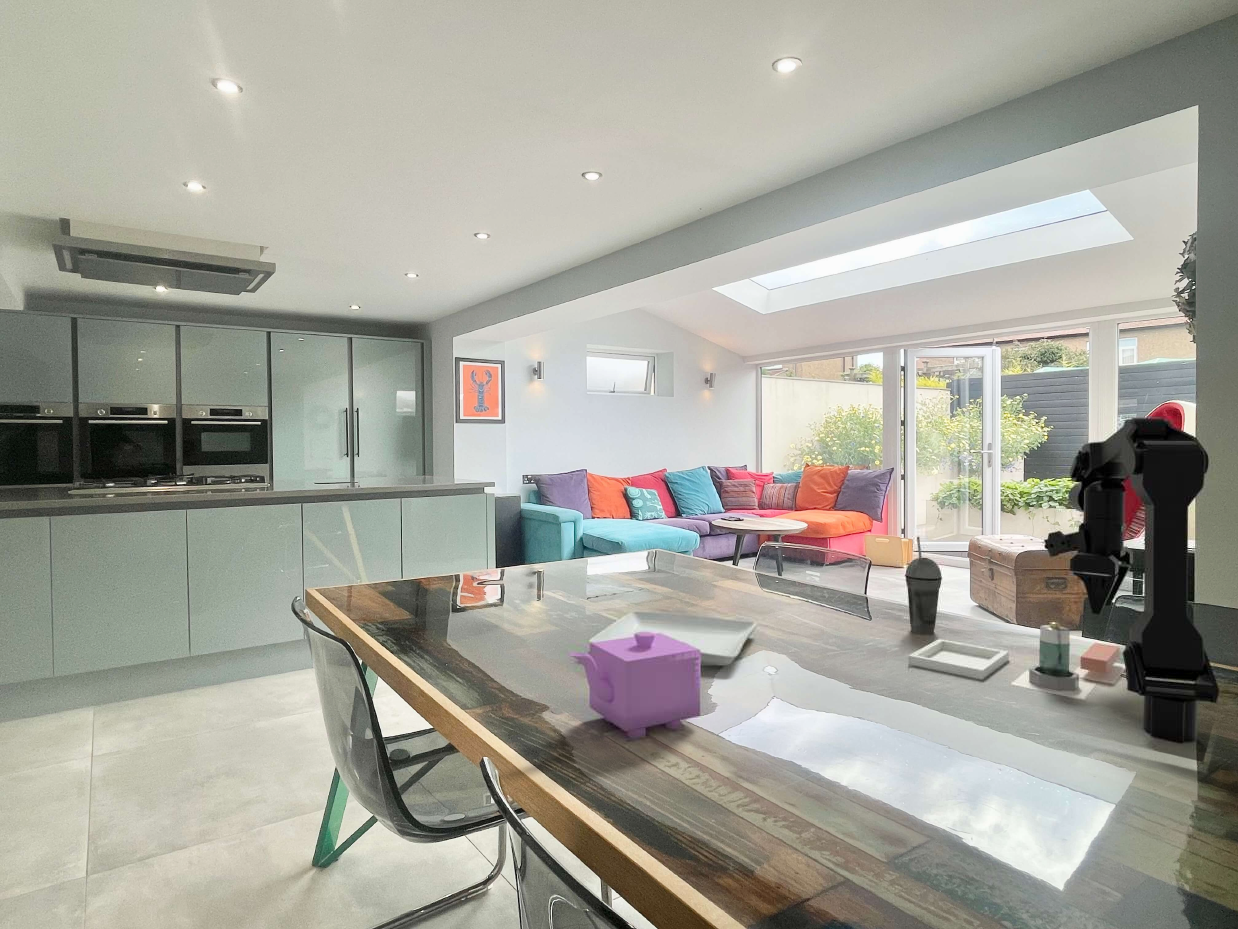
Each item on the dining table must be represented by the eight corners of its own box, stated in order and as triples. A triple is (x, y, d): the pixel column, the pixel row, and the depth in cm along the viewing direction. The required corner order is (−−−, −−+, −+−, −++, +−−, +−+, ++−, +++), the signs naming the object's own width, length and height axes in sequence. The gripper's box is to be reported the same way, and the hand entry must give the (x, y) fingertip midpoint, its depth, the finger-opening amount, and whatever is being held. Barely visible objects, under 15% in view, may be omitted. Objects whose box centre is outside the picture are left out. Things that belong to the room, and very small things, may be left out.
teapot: (673, 701, 110) (674, 618, 110) (714, 723, 101) (715, 634, 101) (553, 725, 100) (553, 635, 100) (586, 752, 91) (587, 653, 91)
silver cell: (1065, 690, 113) (1066, 627, 113) (1035, 684, 116) (1037, 623, 116) (1071, 684, 116) (1072, 623, 116) (1042, 678, 119) (1043, 618, 119)
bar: (1106, 673, 118) (1106, 661, 118) (1080, 668, 120) (1080, 656, 120) (1119, 658, 127) (1119, 646, 127) (1094, 653, 129) (1095, 642, 129)
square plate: (735, 677, 123) (736, 654, 123) (585, 661, 131) (585, 639, 131) (758, 637, 148) (758, 618, 148) (631, 626, 157) (631, 608, 157)
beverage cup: (945, 637, 148) (946, 539, 148) (907, 635, 150) (908, 538, 149) (936, 628, 155) (938, 535, 155) (900, 626, 157) (902, 534, 156)
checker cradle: (1099, 709, 108) (1099, 689, 107) (1010, 690, 116) (1010, 672, 116) (1128, 670, 127) (1128, 653, 127) (1049, 656, 135) (1050, 640, 135)
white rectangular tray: (982, 685, 118) (982, 670, 118) (908, 669, 126) (908, 655, 126) (1008, 665, 129) (1008, 651, 129) (938, 652, 137) (939, 639, 137)
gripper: (1061, 511, 135) (1059, 594, 136) (1035, 517, 121) (1033, 610, 122) (1134, 515, 128) (1132, 603, 128) (1115, 523, 114) (1113, 622, 114)
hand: (1101, 609), depth 123 cm, fingers open, 9 cm apart
